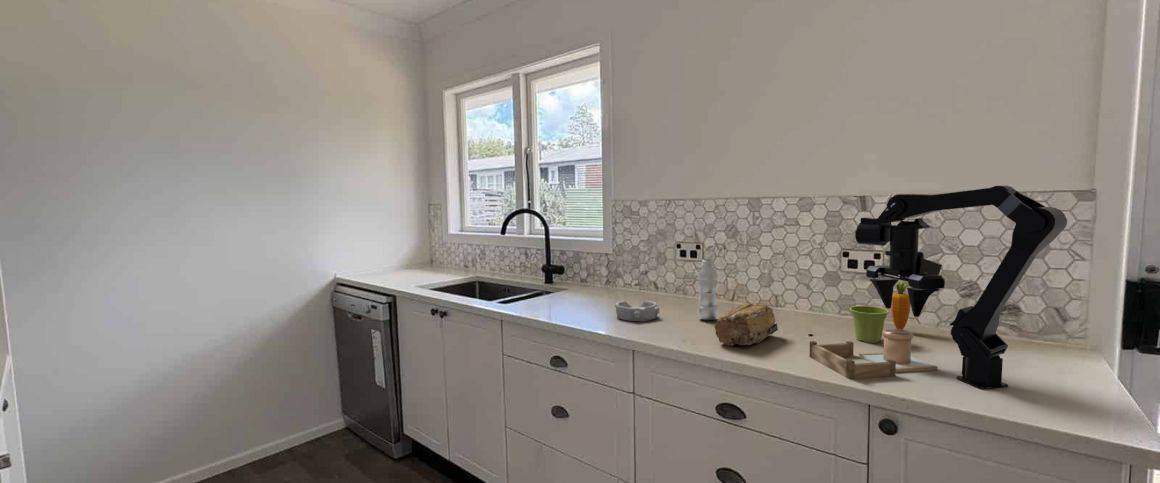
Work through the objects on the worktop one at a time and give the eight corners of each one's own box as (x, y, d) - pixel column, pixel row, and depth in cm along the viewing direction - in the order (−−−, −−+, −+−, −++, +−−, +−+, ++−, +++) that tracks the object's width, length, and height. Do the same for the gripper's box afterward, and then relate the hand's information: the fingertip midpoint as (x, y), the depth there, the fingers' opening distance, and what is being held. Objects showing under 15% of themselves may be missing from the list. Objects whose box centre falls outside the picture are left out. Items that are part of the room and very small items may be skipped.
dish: (610, 315, 182) (610, 301, 181) (646, 311, 186) (646, 298, 185) (626, 324, 168) (626, 309, 167) (665, 320, 172) (665, 306, 171)
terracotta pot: (918, 363, 122) (919, 334, 121) (893, 365, 121) (894, 335, 120) (899, 355, 128) (900, 327, 127) (876, 357, 127) (876, 329, 126)
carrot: (891, 328, 155) (892, 279, 153) (910, 331, 152) (912, 280, 150) (888, 332, 151) (889, 281, 150) (908, 335, 148) (909, 283, 146)
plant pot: (893, 345, 138) (894, 313, 138) (855, 344, 140) (855, 312, 139) (880, 336, 147) (881, 306, 147) (844, 335, 149) (845, 305, 149)
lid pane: (937, 369, 119) (937, 366, 119) (892, 372, 118) (893, 369, 118) (900, 354, 131) (900, 351, 131) (859, 356, 130) (859, 353, 130)
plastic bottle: (693, 319, 173) (693, 259, 171) (709, 316, 175) (709, 258, 174) (705, 323, 167) (705, 261, 165) (722, 320, 170) (722, 260, 168)
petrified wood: (756, 351, 135) (747, 314, 135) (710, 353, 143) (702, 318, 144) (780, 332, 150) (773, 299, 150) (738, 335, 158) (731, 303, 158)
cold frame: (895, 376, 116) (895, 358, 115) (849, 378, 115) (849, 361, 114) (850, 354, 132) (850, 338, 131) (809, 356, 131) (809, 341, 130)
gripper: (968, 250, 114) (965, 319, 115) (906, 242, 132) (904, 302, 133) (922, 251, 112) (919, 322, 114) (865, 244, 131) (864, 304, 132)
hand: (901, 312), depth 123 cm, fingers open, 9 cm apart
